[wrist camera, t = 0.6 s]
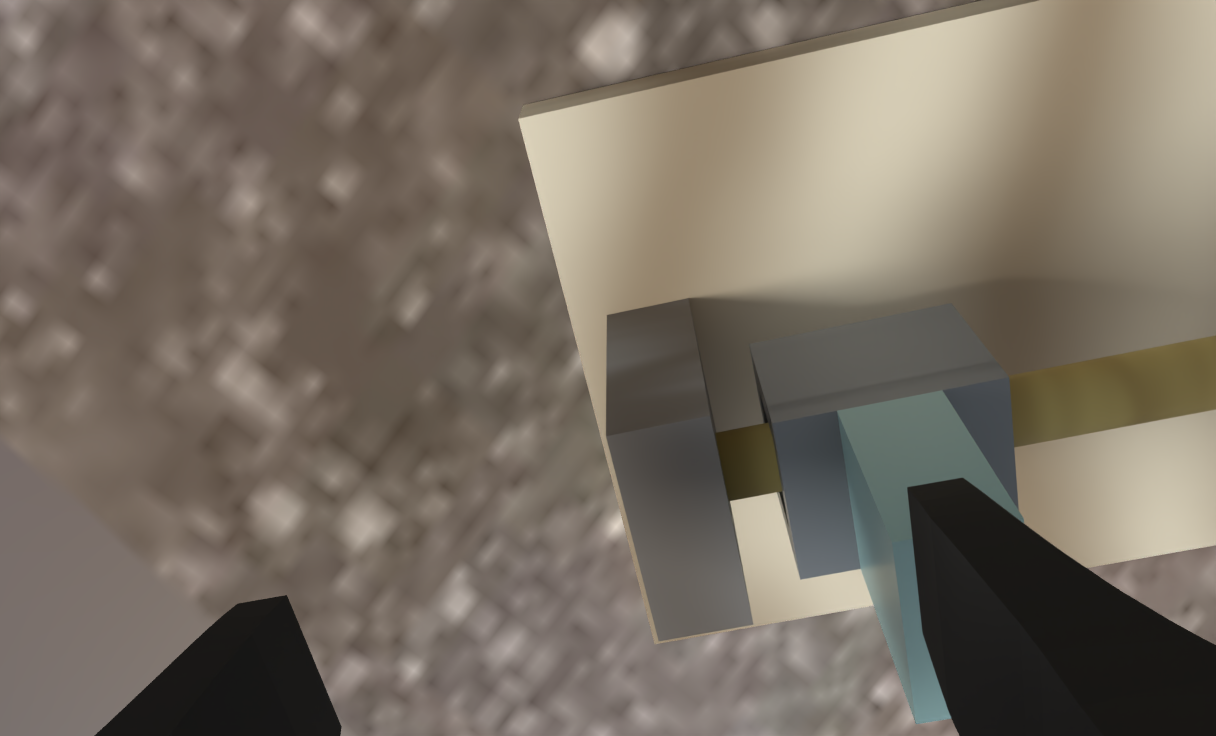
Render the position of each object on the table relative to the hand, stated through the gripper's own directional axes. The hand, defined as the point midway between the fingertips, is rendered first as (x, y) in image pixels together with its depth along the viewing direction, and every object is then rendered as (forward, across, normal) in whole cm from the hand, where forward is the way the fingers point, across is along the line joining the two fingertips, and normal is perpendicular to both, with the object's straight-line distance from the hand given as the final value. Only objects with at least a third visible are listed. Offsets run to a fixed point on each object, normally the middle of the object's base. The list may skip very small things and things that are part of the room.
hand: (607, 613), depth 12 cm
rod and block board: (+10, -8, +2) cm, 13 cm away
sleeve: (+8, -4, +2) cm, 9 cm away
